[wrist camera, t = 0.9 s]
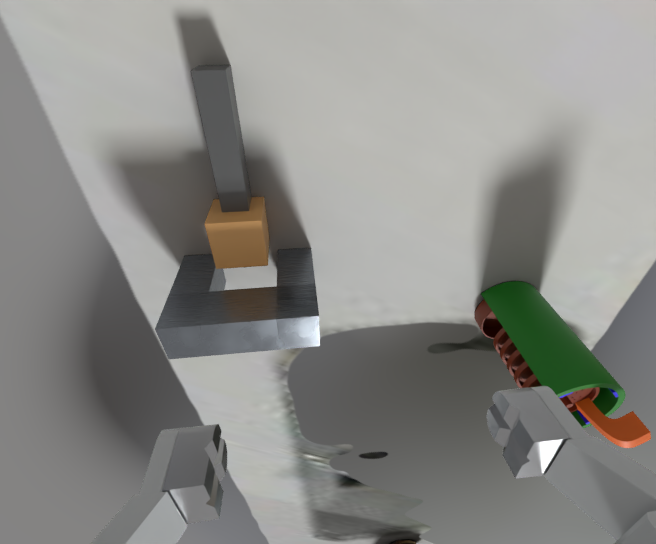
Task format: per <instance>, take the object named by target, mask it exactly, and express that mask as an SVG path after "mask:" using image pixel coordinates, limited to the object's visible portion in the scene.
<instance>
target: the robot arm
mask: <svg viewBox="0 0 656 544" xmlns="http://www.w3.org/2000/svg"><path fill="white" fill-rule="evenodd" d="M492 400H493V401H494V403H495V404H494V405H492V406H491V407H490V408H489V409H488V412H487V424H488V427H489V430H490V433H491V434H492V436H493V438H494V440H495V441H496V442H497V443H499V444H500V445H502V446H503V447H504V448H503V457H504V459H505V460H506V462H507V464H508V466H509V467H510V470H511V471H512V473H513V475H514V477H515V478H524V477H533V476H543V475H545V476H544V478H545V479H547V480H548V481H549V482H550V483H551V484H552V485H554V486H555V487H556V488H557V489H558V490H559V491H560V492H562V493H563V494H564V495H565V496H566V497H567V498H568V499H570V500H571V501H572V502H573V503H574V504H575V505H576V506H578V507H579V508H580V509H581V510H582V511H583V512H584V513H586V514H587V515H588V516H589V517H590V518H591V519H592V520H594V521H595V522H596V523H597V524H598V525H600V527H602V528H603V529H604V530H605V531H606V532H607V533H608V534H610V535H611V536H612V537H613V538H614V539H615V540H616V542H615V543H614V544H656V474H655V473H654V472H652V471H651V470H649V469H647V468H646V467H644V466H642V465H641V464H639V463H638V462H636V461H634V460H632V459H631V458H629V457H628V456H626V455H625V454H623V453H621V452H620V451H618V450H616V449H615V448H613V447H611V446H610V445H608V444H607V443H605V442H603V441H602V440H600V439H599V438H597V437H595V436H591V437H590V436H589V435H588V434H587V432H586V431H585V430H584V429H583V428H582V426H581V425H580V424H579V423H578V421H577V420H576V419H575V418H574V416H573V415H572V414H571V413H570V411H569V410H568V409H567V408H566V406H565V405H564V404H563V403H562V401H561V400H560V399H559V398H558V396H557V395H556V394H555V393H554V391H553V390H552V389H551V388H549V387H548V386H537V387H530V388H528V387H526V388H520V389H511V390H504V391H497V392H496V393H494V396H493V398H492ZM220 437H221V429H220V426H219V424H215V425H206V426H197V427H188V428H176V429H168V430H162V431H161V433H160V434H159V436H158V438H157V441H156V444H155V447H154V450H153V453H152V456H151V459H150V462H149V465H148V468H147V471H146V474H145V478H144V480H143V484H142V486H141V490H140V493H139V495H134V496H132V497H131V499H130V500H129V501H128V502H127V503H126V504H125V505H124V506H123V507H122V509H121V510H120V511H119V512H118V513H117V514H116V515H115V517H114V518H113V519H112V520H111V521H110V522H109V523H108V524H107V525H106V527H105V528H104V529H103V530H102V531H101V532H100V533H99V535H98V536H97V537H96V538H95V539H94V540H93V541H92V542H91V544H177V542H178V541H179V539H180V537H181V536H182V534H183V533H184V531H185V529H186V528H187V524H191V523H196V522H203V521H209V520H215V519H219V518H220V512H221V505H222V498H223V489H222V487H221V484H220V482H221V480H222V479H223V478H224V476H225V475H226V468H227V447H226V443H225V440H224V439H222V438H220Z"/></svg>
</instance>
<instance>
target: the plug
mask: <svg viewBox="0 0 656 544" xmlns="http://www.w3.org/2000/svg"><path fill="white" fill-rule="evenodd" d="M191 74H192V79H193V83H194V88H195V92H196V97H197V101H198V106H199V110H200V115H201V119H202V124H203V129H204V133H205V138H206V142H207V147H208V151H209V156H210V160H211V165H212V169H213V174H214V178H215V183H216V187H217V192H218V196H219V199H213V202H212V205H211V208H210V210H209V213H208V216H207V218H206V221H205V228H206V232H207V235H208V239H209V243H210V247H211V251H212V255H213V258H214V262H215V266H216V269H223V268H237V267H252V266H267V265H268V256H269V240H270V238H269V231H268V223H267V216H266V208H265V201H264V197H251V191H250V185H249V178H248V172H247V166H246V159H245V153H244V147H243V140H242V134H241V128H240V121H239V115H238V109H237V102H236V96H235V90H234V83H233V77H232V71H231V65H205V66H197V67H196V68H194V69H193V70H191Z"/></svg>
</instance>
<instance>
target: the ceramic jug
mask: <svg viewBox="0 0 656 544" xmlns="http://www.w3.org/2000/svg"><path fill="white" fill-rule="evenodd" d="M390 544H416V542H414V541H411V540H400V541H395V542H393V543H390Z"/></svg>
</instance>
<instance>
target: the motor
mask: <svg viewBox="0 0 656 544" xmlns="http://www.w3.org/2000/svg"><path fill="white" fill-rule="evenodd" d="M481 295H482V296H483V298H484V300H483V301H482V302H481V303H480V304H479V305H478V307H477V308H476V311H475V320H476V322H477V323H478V325H479V327H480V329H481V330H482V332H483V333H484V335H485V336H487V337H489V338H492V339H494V342H493V343H494V347H495V349H496V350H497V352H498V353H499V354H500V357H501V359H502V360H503V362H504V363H505V364H506V365H507V369H508V370H509V372H510V373H511V375H513V376H514V380H515V382H516V383H517V385H518V387H519V388H526V387H528V388H530V387H537V386H548V387H549V388H551V389H552V390H553V391H554V393H555V394H556V395H557V396H558V398H559V399H560V400H561V401H562V403H563V404H564V405H565V406H566V408H567V409H568V410H569V411H570V413H571V414H572V415H573V416H574V418H575V419H576V420H577V421H578V423H579V424H580V425H581V426H582V428H586V427H588V426H591V425H593V426H594V427H595V428H596V429H597V430H598V431H599V432H600V433H601V434H602V435H604V436H605V437H606V438H607V439H608V440H610V441H611V442H613V443H614V444H616V445H618V446H620V447H624V448H632V447H636V446H638V445H640V444H642V443H644V442H646V441H648V440H650V439H651V436H650V435H651V434H650V431H649V430H648V429H647V428H646V426H645V425H644V424H643V423H642V422H641V420H640V419H639V418H638V417H637V416H636V415H635V414H634V412H633V411H632V412H630V413H628V414H626V415H625V416H623V417H620V418H618V419H610V418H608V416H609V415H610V414H612V413H613V412H614V411H616V410H617V409H618V408H619V407H620V405H621V404H622V403H623V401H624V399H625V391H624V390H623V388H622V387H621V386H620V385H619V384H618V383H617V382H616V380H615V379H614V378H613V377H612V376H611V375H610V373H609V372H608V371H607V370H606V369H605V368H604V367H603V365H602V364H601V363H600V362H599V361H598V360H597V359H596V357H595V356H594V355H593V354H592V353H591V352H590V350H589V349H588V348H587V347H586V346H585V345H584V344H583V342H582V341H581V340H580V339H579V338H578V337H577V336H576V334H575V333H574V332H573V331H572V330H571V329H570V328H569V326H568V325H567V324H566V323H565V322H564V321H563V319H562V318H561V317H560V316H559V315H558V314H557V313H556V311H555V310H554V309H553V308H552V307H551V306H550V305H549V303H548V302H547V301H546V300H545V299H544V298H543V296H542V295H541V294H540V293H539V292H538V291H537V290H536V288H535V287H534V286H532V285H531V284H529V283H526V282H521V281H511V282H505V283H501V284H498V285H496V286H493V287H491V288H489V289H487V290H486V291H484V292H483V293H481Z"/></svg>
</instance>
